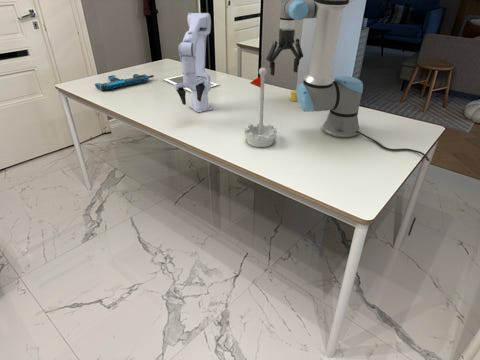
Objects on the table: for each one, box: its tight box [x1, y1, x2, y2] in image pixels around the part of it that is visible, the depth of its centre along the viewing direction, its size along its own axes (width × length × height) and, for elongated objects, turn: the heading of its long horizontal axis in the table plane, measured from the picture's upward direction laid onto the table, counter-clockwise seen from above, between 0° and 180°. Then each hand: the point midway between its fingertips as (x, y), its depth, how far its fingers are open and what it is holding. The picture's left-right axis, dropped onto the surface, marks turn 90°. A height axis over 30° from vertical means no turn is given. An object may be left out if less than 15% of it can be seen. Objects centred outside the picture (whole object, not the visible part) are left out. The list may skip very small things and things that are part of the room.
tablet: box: [162, 74, 220, 93], centre depth 208 cm, size 32×20×1 cm, turn 41°
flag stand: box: [244, 67, 278, 148], centre depth 133 cm, size 13×13×30 cm
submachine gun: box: [94, 73, 155, 91], centre depth 208 cm, size 34×4×25 cm
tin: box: [289, 89, 298, 102], centre depth 182 cm, size 4×4×4 cm
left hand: (191, 102), depth 153 cm, fingers open, 7 cm apart
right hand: (283, 73), depth 175 cm, fingers open, 13 cm apart
